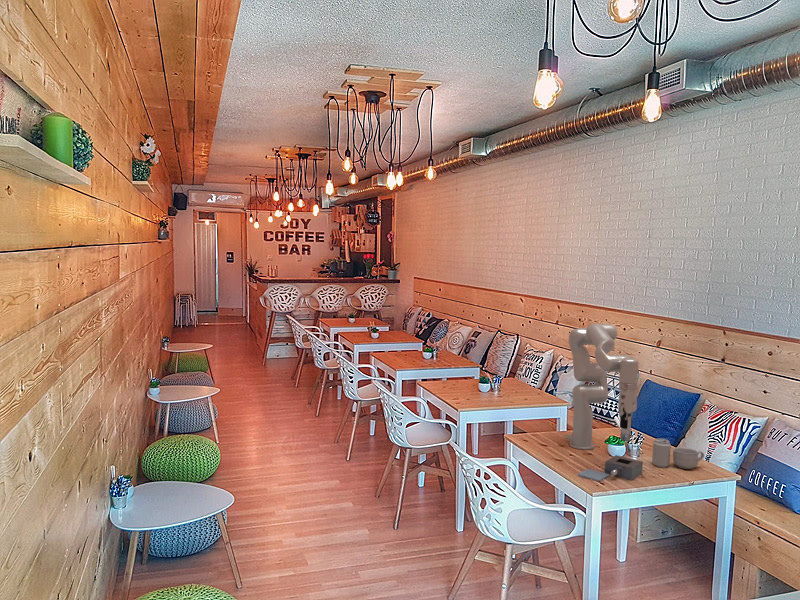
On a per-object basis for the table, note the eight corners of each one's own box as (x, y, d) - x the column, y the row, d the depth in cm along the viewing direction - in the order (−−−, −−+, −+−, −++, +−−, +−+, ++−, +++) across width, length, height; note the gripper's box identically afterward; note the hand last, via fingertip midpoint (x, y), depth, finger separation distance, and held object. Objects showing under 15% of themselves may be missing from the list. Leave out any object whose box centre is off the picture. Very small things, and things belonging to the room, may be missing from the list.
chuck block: (598, 476, 264) (599, 464, 263) (615, 466, 277) (616, 455, 277) (626, 484, 256) (626, 471, 255) (641, 473, 269) (642, 461, 269)
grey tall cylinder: (627, 441, 265) (629, 410, 264) (618, 439, 268) (620, 408, 267) (631, 439, 268) (633, 408, 267) (622, 437, 271) (624, 407, 270)
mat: (577, 475, 264) (577, 474, 264) (587, 470, 271) (587, 468, 271) (599, 482, 257) (599, 480, 257) (609, 476, 265) (609, 474, 265)
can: (671, 468, 277) (672, 443, 276) (653, 467, 278) (655, 441, 278) (667, 463, 284) (668, 438, 283) (650, 462, 286) (651, 437, 285)
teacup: (676, 470, 275) (677, 452, 275) (668, 462, 286) (669, 445, 286) (708, 472, 274) (709, 455, 273) (699, 464, 284) (701, 447, 284)
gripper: (629, 390, 257) (626, 432, 259) (643, 385, 270) (641, 425, 271) (611, 387, 262) (609, 429, 264) (626, 382, 275) (624, 422, 276)
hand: (625, 426), depth 267 cm, fingers closed on grey tall cylinder, 4 cm apart
